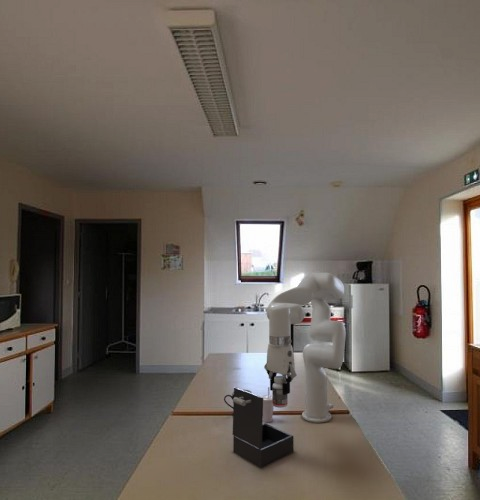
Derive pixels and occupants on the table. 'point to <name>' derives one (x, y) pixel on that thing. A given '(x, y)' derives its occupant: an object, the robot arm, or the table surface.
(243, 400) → the lid
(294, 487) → the table surface
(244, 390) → the coffee mug
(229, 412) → the table surface
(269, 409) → the smoothie
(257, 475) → the table surface
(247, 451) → the dark grey storage bin
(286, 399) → the pill bottle
